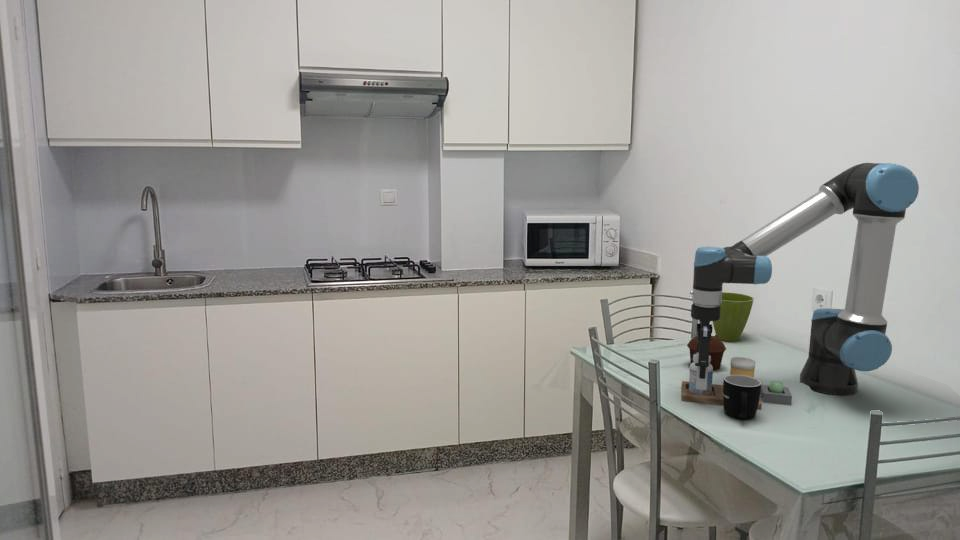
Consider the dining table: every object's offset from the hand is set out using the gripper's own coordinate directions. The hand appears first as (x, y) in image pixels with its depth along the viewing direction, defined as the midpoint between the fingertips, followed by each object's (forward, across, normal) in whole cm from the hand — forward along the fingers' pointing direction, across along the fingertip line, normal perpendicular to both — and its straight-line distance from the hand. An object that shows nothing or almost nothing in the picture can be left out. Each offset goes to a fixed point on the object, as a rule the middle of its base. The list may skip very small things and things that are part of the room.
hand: (700, 382), depth 180 cm
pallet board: (+5, 0, +5) cm, 7 cm away
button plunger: (+3, -3, +20) cm, 20 cm away
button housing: (+5, -4, +20) cm, 21 cm away
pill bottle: (+4, 0, 0) cm, 4 cm away
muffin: (+5, -30, +2) cm, 30 cm away
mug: (+5, +12, +10) cm, 17 cm away
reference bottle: (+4, 0, +10) cm, 11 cm away
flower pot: (+5, -66, +11) cm, 67 cm away
